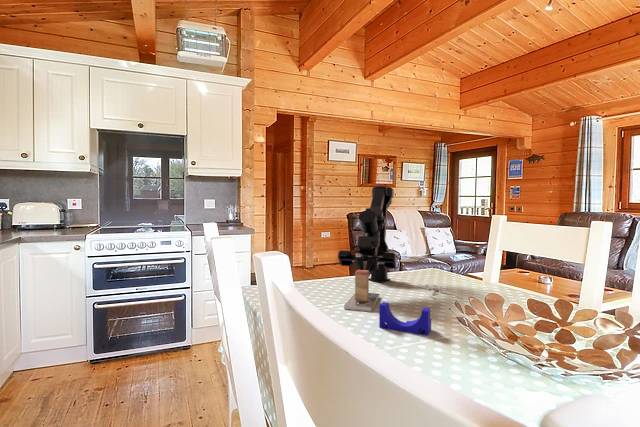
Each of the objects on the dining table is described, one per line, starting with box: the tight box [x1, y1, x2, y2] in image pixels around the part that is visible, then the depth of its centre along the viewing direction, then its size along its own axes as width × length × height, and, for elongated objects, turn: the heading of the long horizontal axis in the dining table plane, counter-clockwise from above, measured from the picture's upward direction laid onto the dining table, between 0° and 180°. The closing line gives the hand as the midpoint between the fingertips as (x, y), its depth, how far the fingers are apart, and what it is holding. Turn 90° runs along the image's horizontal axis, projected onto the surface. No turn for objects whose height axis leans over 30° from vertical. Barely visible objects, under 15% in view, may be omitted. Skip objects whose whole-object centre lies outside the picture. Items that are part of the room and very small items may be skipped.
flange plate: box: [343, 292, 381, 313], centre depth 114 cm, size 16×8×2 cm, turn 162°
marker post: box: [354, 269, 370, 301], centre depth 113 cm, size 4×4×9 cm
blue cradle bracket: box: [378, 301, 432, 336], centre depth 92 cm, size 12×4×6 cm, turn 63°
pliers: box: [425, 283, 462, 300], centre depth 126 cm, size 10×2×15 cm
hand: (363, 280), depth 114 cm, fingers closed, pressing on marker post
